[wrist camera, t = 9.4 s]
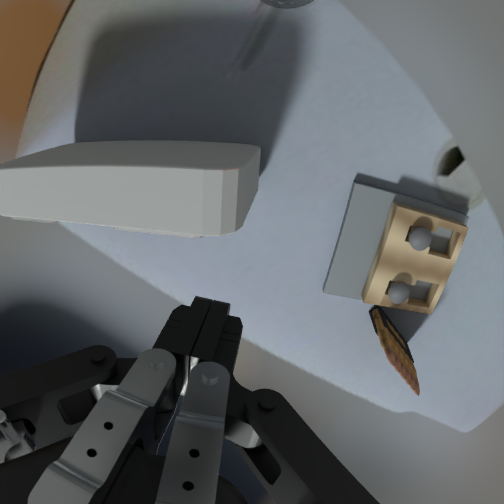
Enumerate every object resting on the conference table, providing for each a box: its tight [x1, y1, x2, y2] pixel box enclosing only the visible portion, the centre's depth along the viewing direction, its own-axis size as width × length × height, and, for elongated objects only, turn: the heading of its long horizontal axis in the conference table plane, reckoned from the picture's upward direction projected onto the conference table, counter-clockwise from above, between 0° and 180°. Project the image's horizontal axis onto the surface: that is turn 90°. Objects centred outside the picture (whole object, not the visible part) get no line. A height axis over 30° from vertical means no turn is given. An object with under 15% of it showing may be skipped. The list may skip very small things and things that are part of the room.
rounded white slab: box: [0, 140, 261, 238], centre depth 33 cm, size 29×8×18 cm, turn 86°
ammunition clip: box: [369, 305, 420, 395], centre depth 42 cm, size 11×2×12 cm, turn 43°
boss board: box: [323, 181, 469, 304], centre depth 39 cm, size 16×18×5 cm
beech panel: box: [361, 202, 468, 314], centre depth 39 cm, size 14×12×2 cm
